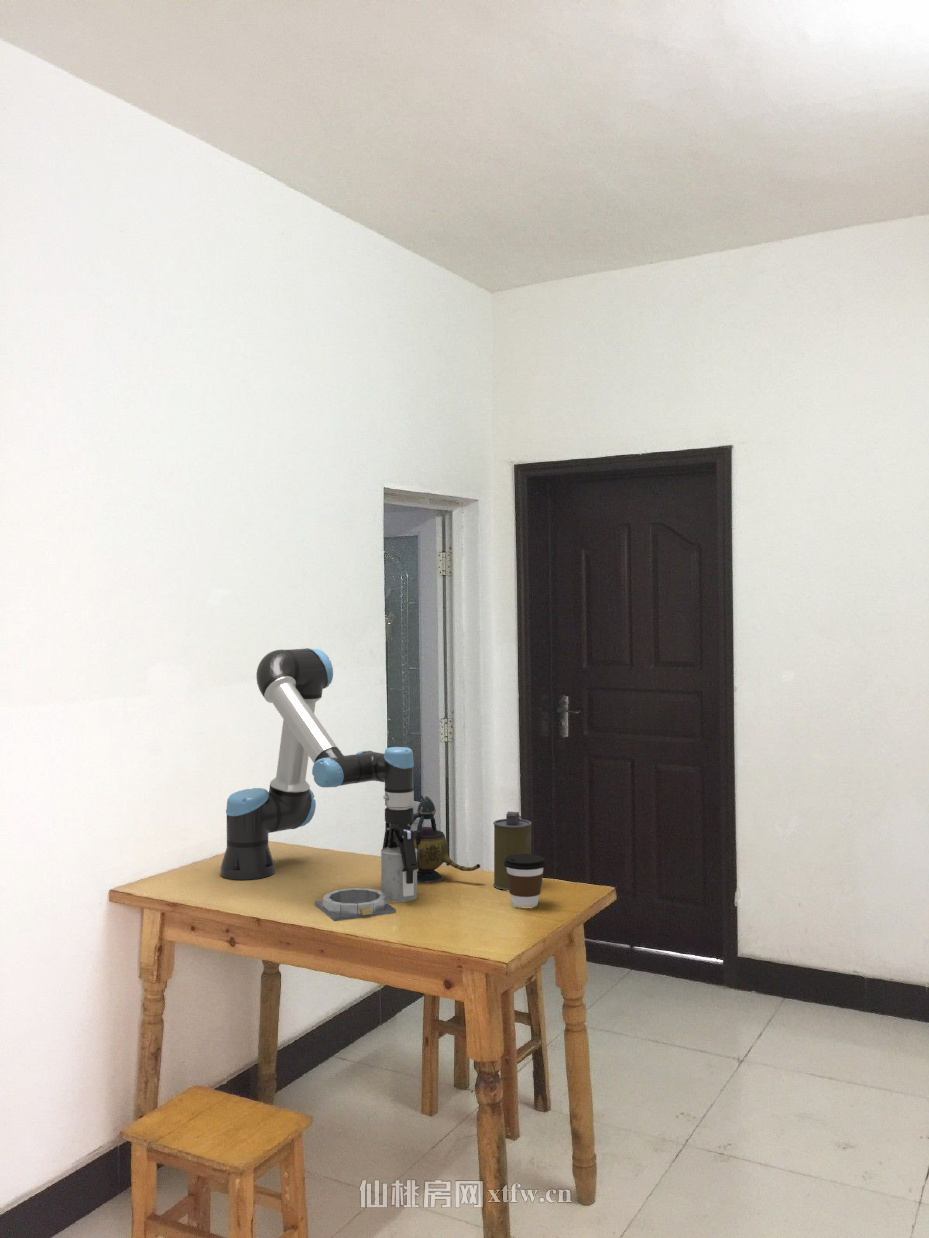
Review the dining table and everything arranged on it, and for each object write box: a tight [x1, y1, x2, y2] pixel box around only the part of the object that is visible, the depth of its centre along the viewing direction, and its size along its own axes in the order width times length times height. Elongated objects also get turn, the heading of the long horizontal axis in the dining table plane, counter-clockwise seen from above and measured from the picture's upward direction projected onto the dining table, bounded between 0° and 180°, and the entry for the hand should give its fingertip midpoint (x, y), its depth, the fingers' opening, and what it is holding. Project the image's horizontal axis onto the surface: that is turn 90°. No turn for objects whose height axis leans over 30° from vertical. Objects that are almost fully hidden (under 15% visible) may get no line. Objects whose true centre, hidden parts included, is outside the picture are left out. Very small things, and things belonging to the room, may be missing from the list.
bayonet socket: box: [314, 887, 397, 922], centre depth 265 cm, size 18×16×3 cm
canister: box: [493, 811, 533, 891], centre depth 286 cm, size 11×10×20 cm
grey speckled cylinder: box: [380, 847, 418, 903], centre depth 275 cm, size 10×10×12 cm
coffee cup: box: [504, 853, 547, 908], centre depth 267 cm, size 11×11×12 cm
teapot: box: [408, 795, 481, 884], centre depth 292 cm, size 12×25×23 cm, turn 66°
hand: (399, 889), depth 275 cm, fingers open, 12 cm apart
